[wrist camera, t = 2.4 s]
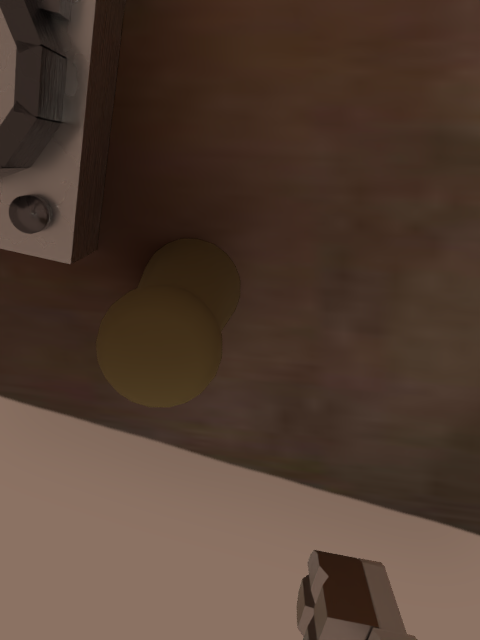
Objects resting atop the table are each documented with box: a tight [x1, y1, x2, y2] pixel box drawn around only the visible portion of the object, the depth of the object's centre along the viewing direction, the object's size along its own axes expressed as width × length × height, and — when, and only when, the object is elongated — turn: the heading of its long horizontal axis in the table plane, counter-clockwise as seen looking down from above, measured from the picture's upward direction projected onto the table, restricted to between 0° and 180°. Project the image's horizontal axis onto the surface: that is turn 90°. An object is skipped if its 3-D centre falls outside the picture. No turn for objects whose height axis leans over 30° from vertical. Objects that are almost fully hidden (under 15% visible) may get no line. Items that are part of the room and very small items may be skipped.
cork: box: [96, 239, 240, 407], centre depth 22 cm, size 6×6×11 cm
